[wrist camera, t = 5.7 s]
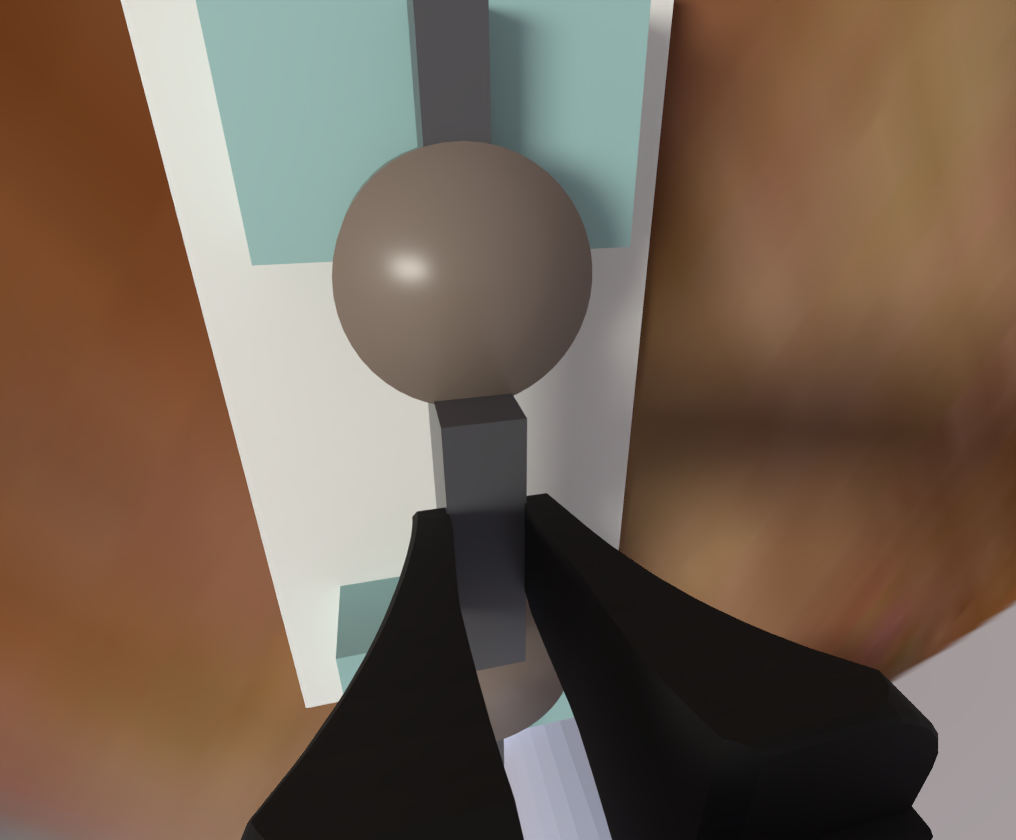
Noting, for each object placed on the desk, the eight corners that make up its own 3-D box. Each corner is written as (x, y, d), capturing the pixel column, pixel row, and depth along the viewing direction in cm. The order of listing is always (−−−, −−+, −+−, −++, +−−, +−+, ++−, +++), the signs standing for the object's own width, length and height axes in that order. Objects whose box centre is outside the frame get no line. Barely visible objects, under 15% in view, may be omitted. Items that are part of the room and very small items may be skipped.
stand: (600, 627, 24) (640, 710, 20) (308, 685, 21) (296, 791, 18) (656, -7, 14) (754, -61, 10) (128, -33, 11) (22, -116, 8)
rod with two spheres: (547, 719, 19) (576, 810, 16) (407, 750, 18) (414, 853, 15) (571, 7, 10) (643, -44, 7) (296, -6, 9) (268, -69, 6)
